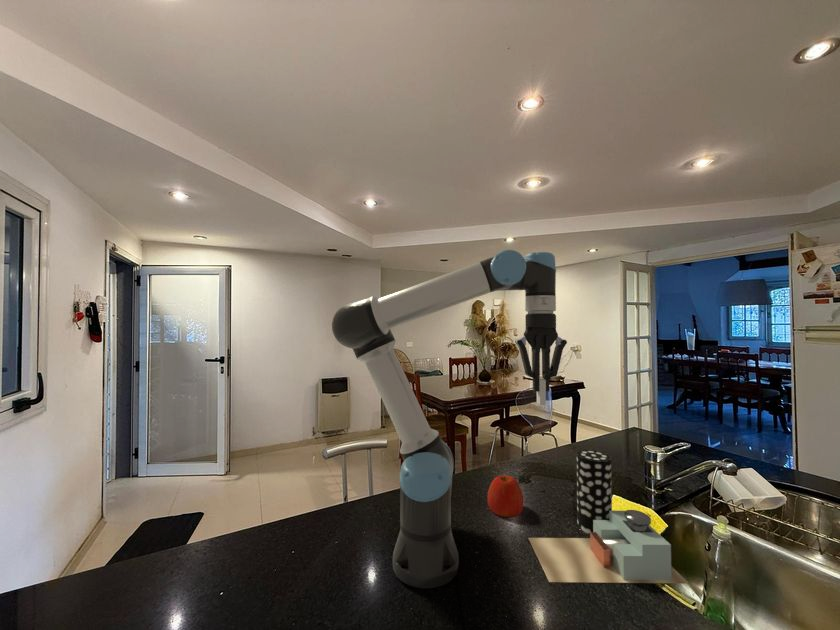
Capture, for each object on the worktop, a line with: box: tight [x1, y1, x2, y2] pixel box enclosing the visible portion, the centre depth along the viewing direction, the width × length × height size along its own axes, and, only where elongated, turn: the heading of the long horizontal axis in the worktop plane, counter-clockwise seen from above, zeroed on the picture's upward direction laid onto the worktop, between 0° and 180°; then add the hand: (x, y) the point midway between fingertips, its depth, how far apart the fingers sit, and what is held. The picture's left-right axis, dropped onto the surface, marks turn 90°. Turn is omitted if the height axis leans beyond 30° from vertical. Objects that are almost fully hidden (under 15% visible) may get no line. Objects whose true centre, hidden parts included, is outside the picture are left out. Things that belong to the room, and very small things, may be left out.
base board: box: [528, 537, 689, 584], centre depth 81 cm, size 29×15×1 cm, turn 89°
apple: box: [486, 474, 524, 518], centre depth 103 cm, size 10×10×10 cm
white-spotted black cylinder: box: [576, 449, 613, 535], centre depth 93 cm, size 8×8×20 cm
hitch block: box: [593, 509, 672, 580], centre depth 81 cm, size 10×13×7 cm
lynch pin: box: [589, 532, 631, 568], centre depth 81 cm, size 13×6×4 cm, turn 89°
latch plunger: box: [624, 509, 652, 532], centre depth 81 cm, size 5×5×6 cm
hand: (541, 403), depth 91 cm, fingers closed
